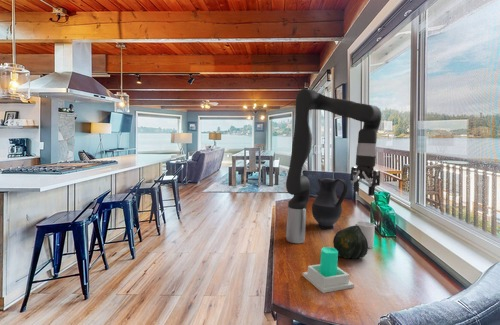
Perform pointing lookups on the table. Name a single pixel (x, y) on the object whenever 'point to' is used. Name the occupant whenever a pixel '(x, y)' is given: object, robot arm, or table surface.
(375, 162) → the robot arm
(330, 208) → the pitcher
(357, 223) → the mug
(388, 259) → the table surface
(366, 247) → the squash
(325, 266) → the candle
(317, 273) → the candle stand
